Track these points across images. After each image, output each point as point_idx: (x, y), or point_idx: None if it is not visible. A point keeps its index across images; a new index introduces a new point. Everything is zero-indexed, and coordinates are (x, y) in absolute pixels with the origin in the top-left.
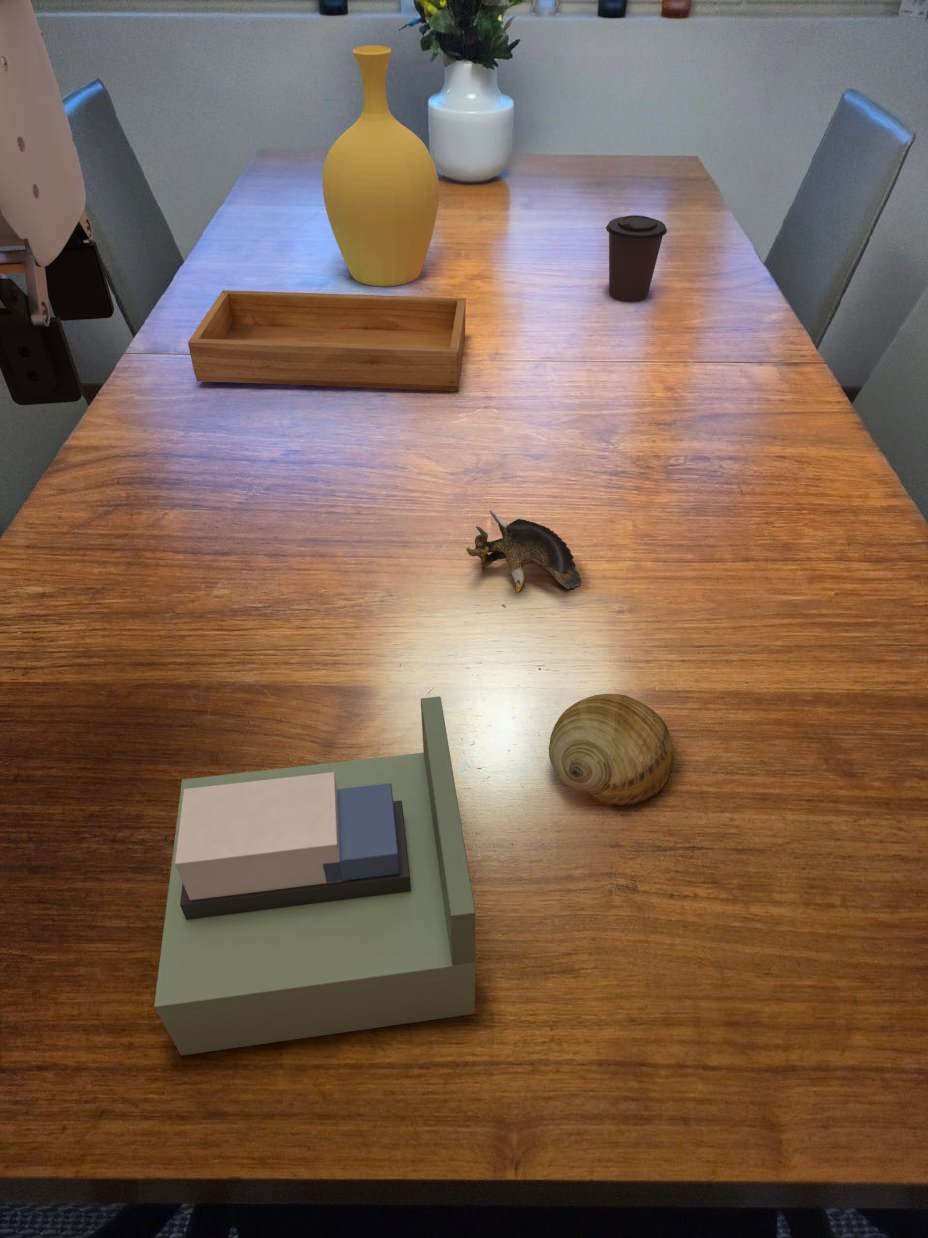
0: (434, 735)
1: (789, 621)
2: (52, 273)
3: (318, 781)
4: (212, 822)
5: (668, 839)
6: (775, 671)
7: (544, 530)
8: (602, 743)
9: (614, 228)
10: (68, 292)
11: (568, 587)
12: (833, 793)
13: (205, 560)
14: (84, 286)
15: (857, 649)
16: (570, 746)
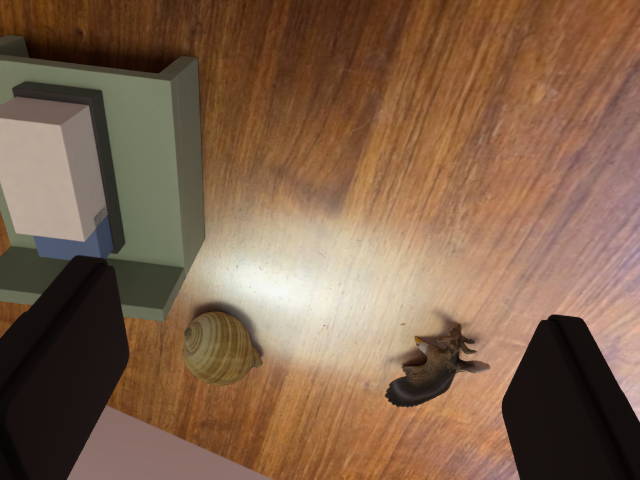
0: (122, 309)
1: (326, 451)
2: (578, 443)
3: (74, 230)
4: (25, 148)
5: (168, 341)
6: (285, 430)
7: (421, 400)
8: (192, 358)
9: None
10: (548, 408)
11: (402, 368)
12: (191, 414)
13: (614, 77)
14: (535, 450)
15: (293, 465)
16: (201, 338)
